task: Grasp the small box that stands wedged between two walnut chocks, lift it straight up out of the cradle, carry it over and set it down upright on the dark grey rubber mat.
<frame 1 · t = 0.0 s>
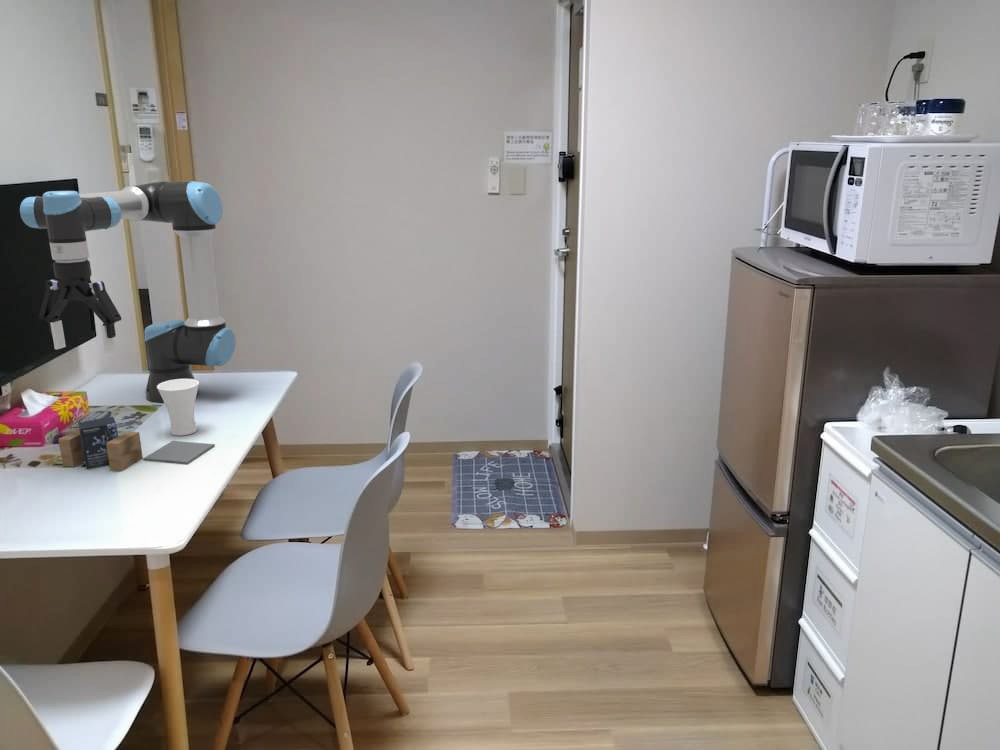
hand: (85, 349, 182), 28 cm above the table, fingers open, 13 cm apart
mat: (180, 453, 193), on the table
cradle: (103, 462, 188), on the table
box: (103, 463, 188), on the table
cup: (184, 432, 208), on the table
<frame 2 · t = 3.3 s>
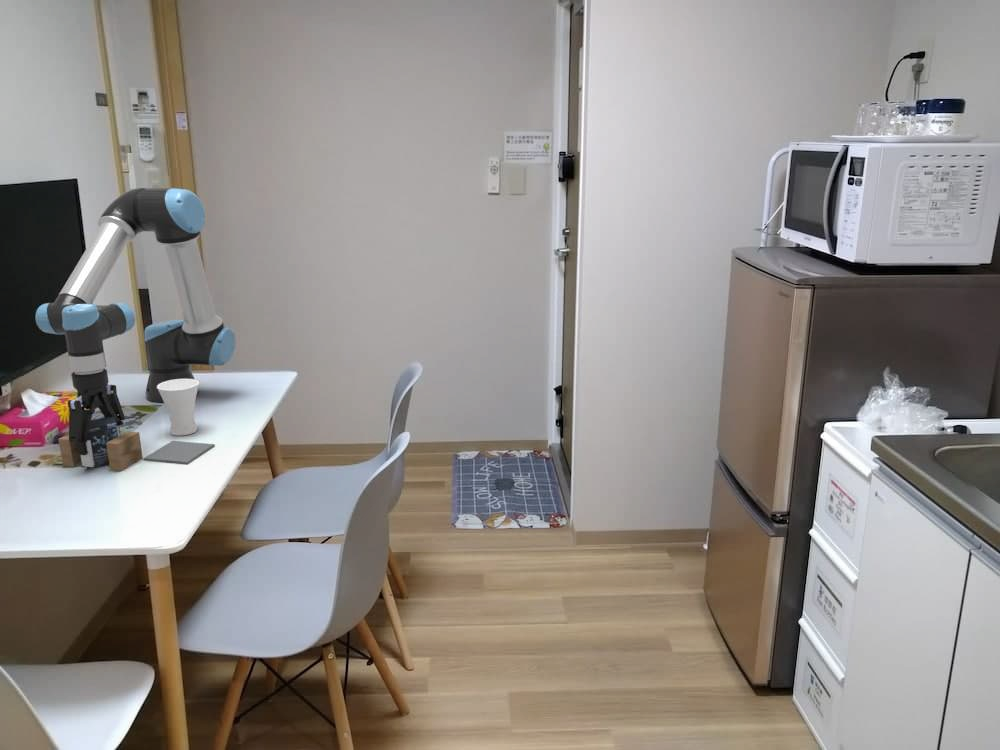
hand: (102, 458, 188), 1 cm above the table, fingers closed on box, 9 cm apart
box: (103, 463, 188), on the table, touching gripper
everything else where it was.
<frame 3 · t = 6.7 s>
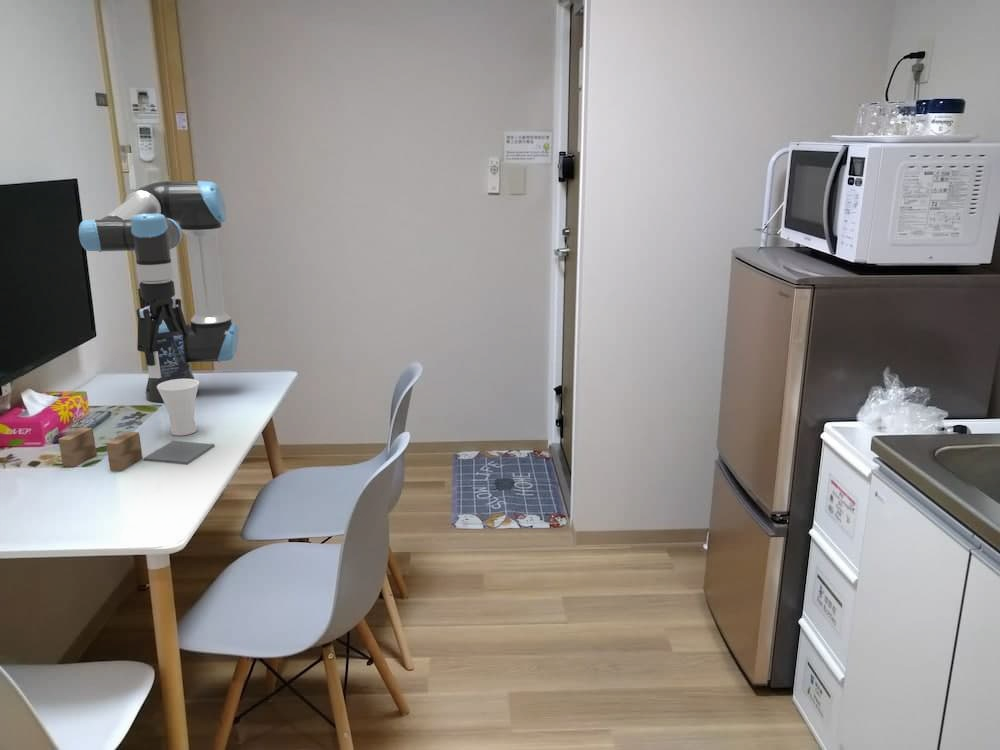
hand: (167, 371, 187), 21 cm above the table, fingers closed on box, 9 cm apart
box: (168, 377, 188), point 20 cm above the table, touching gripper
everything else where it was.
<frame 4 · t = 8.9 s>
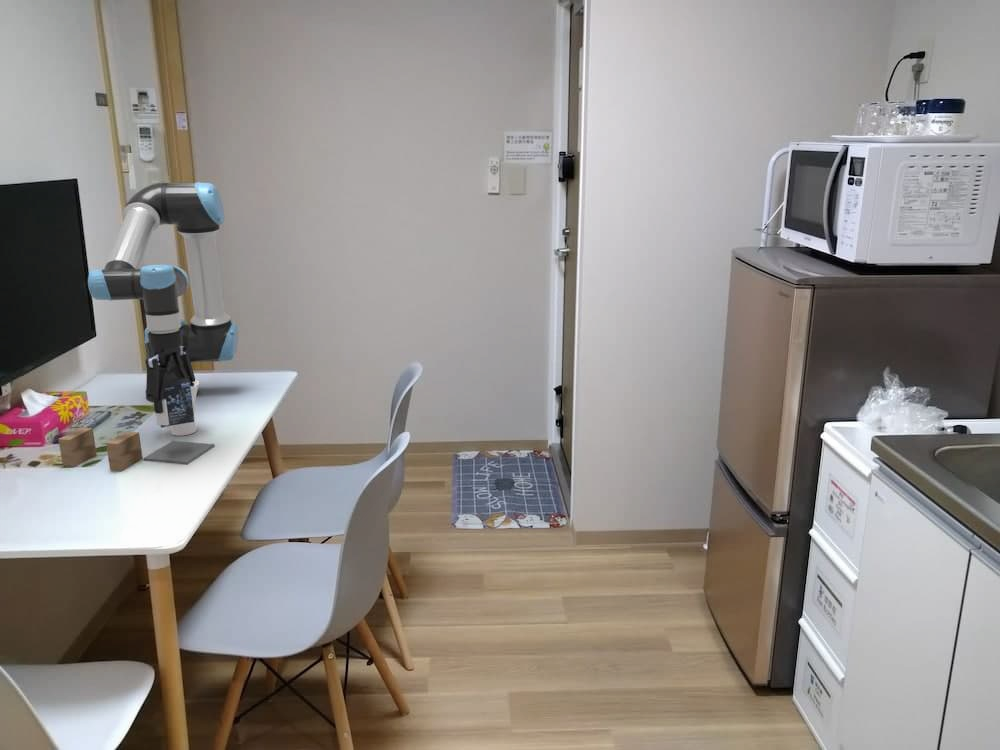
hand: (175, 418, 191), 9 cm above the table, fingers closed on box, 9 cm apart
box: (176, 422, 191), point 8 cm above the table, touching gripper
everything else where it was.
when the fingers open (4 cm above the table, at t = 10.6 s): box drops 2 cm, resting on mat.
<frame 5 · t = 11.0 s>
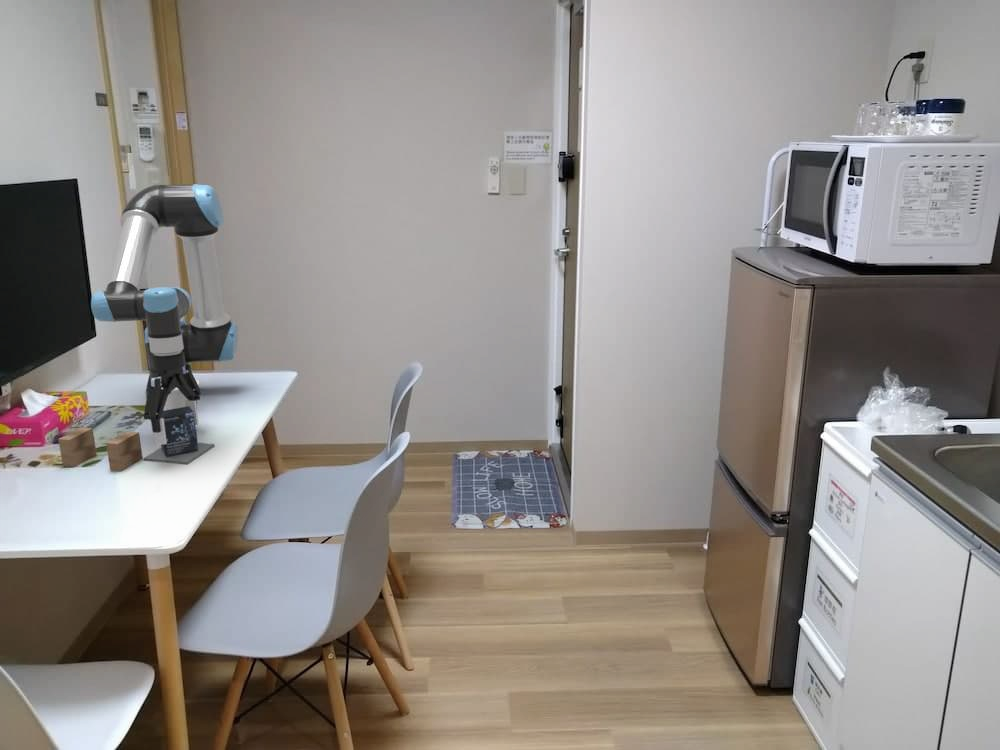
hand: (177, 433, 192), 5 cm above the table, fingers open, 13 cm apart
box: (180, 451, 194), resting on mat
everything else where it was.
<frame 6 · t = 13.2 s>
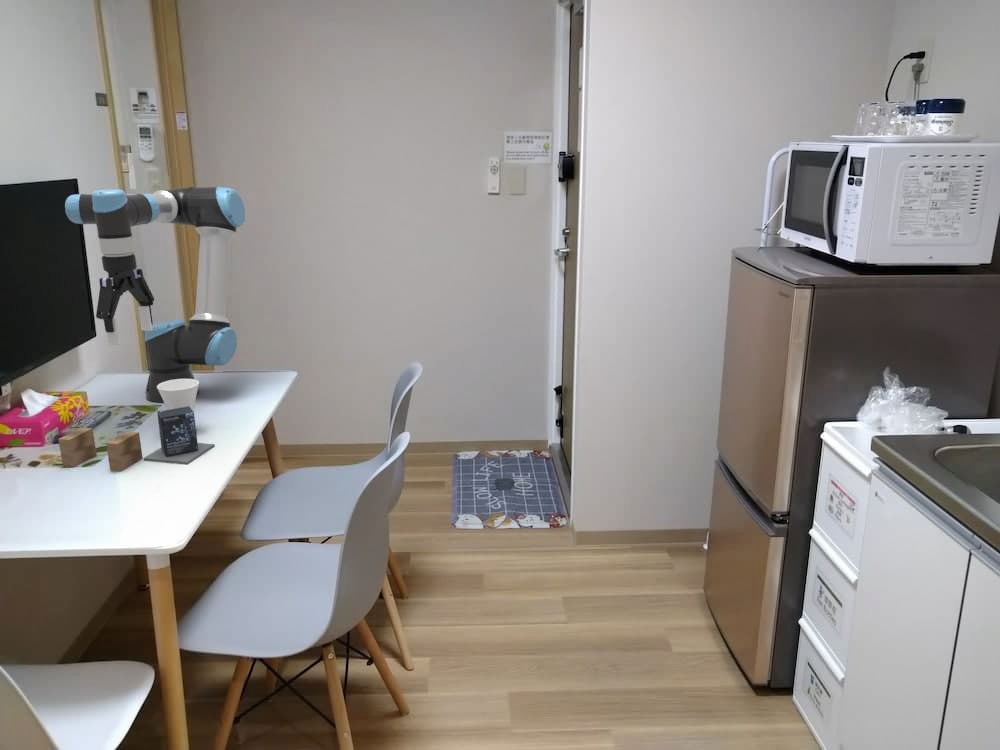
hand: (131, 337, 196), 28 cm above the table, fingers open, 13 cm apart
nothing on the table moved.
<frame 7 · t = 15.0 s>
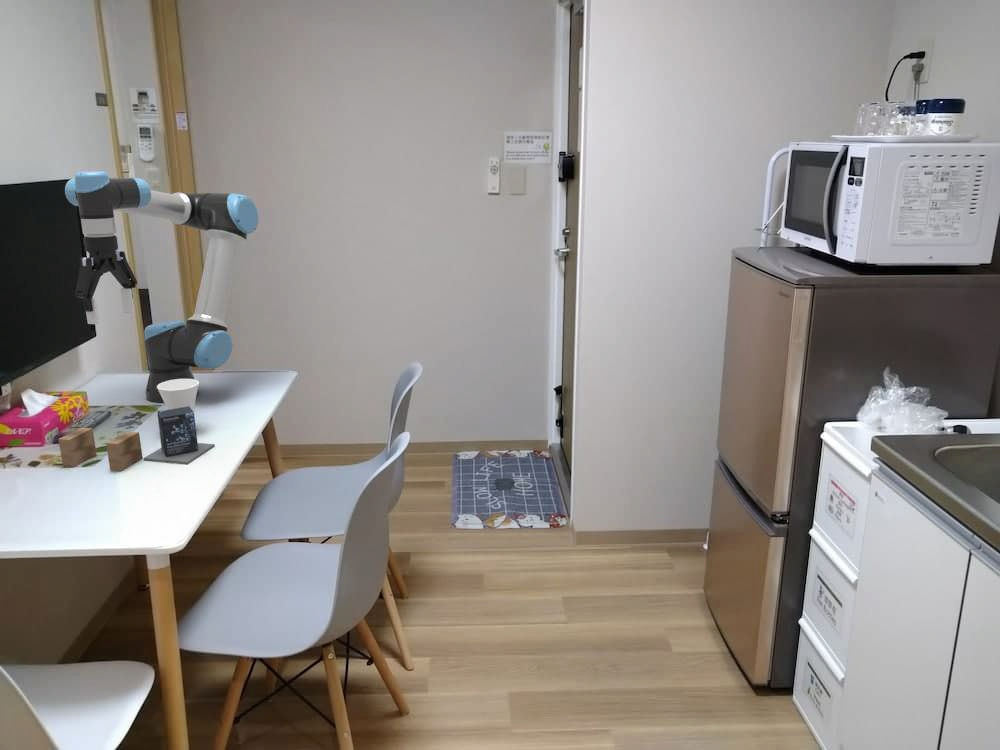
hand: (111, 318, 198), 32 cm above the table, fingers open, 13 cm apart
nothing on the table moved.
at the end: box inside the target area on the mat (0.2 cm from its centre), point 0.4 cm above the mat's base; box tilted 0°; the gripper is holding nothing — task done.
